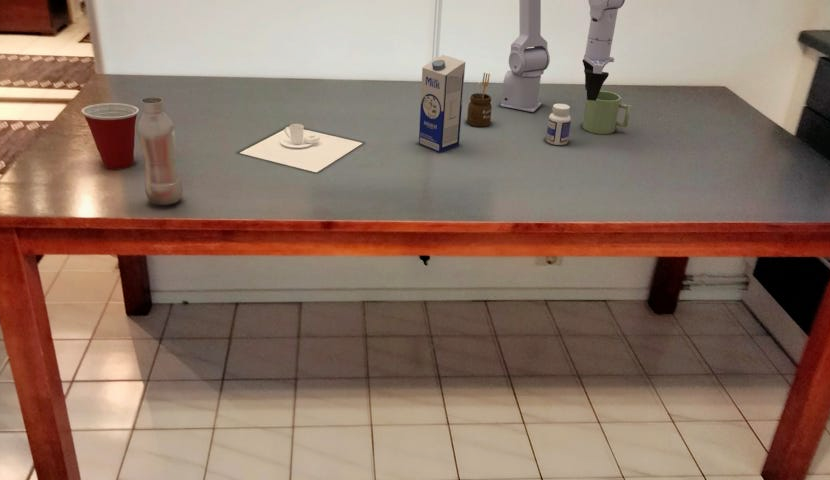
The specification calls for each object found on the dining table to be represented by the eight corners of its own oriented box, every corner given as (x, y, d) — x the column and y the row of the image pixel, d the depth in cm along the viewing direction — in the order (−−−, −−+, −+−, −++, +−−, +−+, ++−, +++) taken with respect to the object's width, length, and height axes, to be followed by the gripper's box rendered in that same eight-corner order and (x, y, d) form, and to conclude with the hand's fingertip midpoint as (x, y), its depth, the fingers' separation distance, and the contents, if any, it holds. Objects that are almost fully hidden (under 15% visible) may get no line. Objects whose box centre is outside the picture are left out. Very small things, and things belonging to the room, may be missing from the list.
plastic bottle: (151, 194, 148) (136, 94, 137) (187, 194, 149) (174, 95, 138) (143, 209, 142) (127, 105, 132) (180, 209, 143) (167, 106, 133)
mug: (579, 130, 192) (584, 97, 188) (586, 120, 199) (591, 88, 194) (622, 138, 189) (629, 105, 184) (628, 128, 195) (635, 96, 191)
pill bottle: (567, 138, 187) (572, 103, 182) (568, 146, 182) (573, 110, 177) (545, 136, 187) (550, 101, 182) (546, 144, 182) (551, 108, 178)
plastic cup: (157, 159, 162) (149, 104, 156) (124, 177, 154) (114, 120, 147) (115, 150, 165) (105, 96, 159) (80, 168, 156) (68, 111, 150)
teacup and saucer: (324, 141, 176) (324, 125, 174) (305, 152, 170) (305, 135, 167) (292, 134, 179) (291, 117, 177) (272, 144, 173) (271, 127, 170)
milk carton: (459, 145, 179) (466, 60, 168) (440, 152, 174) (445, 66, 164) (437, 137, 183) (442, 53, 172) (418, 143, 178) (422, 58, 168)
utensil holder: (463, 124, 191) (467, 77, 185) (471, 117, 196) (475, 71, 190) (485, 128, 189) (490, 81, 183) (493, 121, 194) (498, 74, 188)
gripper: (620, 47, 170) (609, 106, 177) (615, 32, 183) (605, 87, 190) (588, 44, 171) (579, 103, 178) (585, 29, 183) (576, 84, 190)
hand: (590, 95), depth 184 cm, fingers open, 7 cm apart
